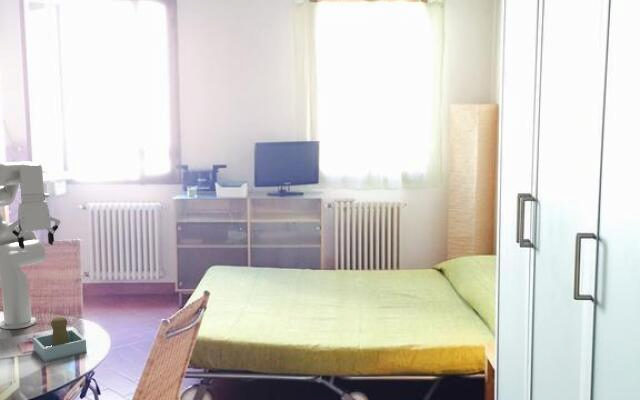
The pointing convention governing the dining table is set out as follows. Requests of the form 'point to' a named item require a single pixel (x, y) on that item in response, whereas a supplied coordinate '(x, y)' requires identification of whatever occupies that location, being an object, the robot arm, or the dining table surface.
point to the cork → (59, 331)
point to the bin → (59, 346)
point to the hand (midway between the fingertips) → (36, 246)
